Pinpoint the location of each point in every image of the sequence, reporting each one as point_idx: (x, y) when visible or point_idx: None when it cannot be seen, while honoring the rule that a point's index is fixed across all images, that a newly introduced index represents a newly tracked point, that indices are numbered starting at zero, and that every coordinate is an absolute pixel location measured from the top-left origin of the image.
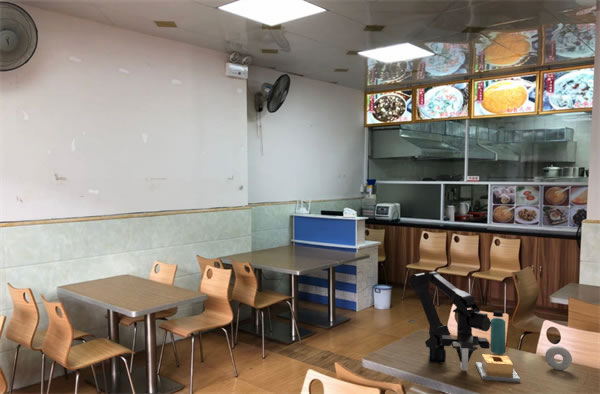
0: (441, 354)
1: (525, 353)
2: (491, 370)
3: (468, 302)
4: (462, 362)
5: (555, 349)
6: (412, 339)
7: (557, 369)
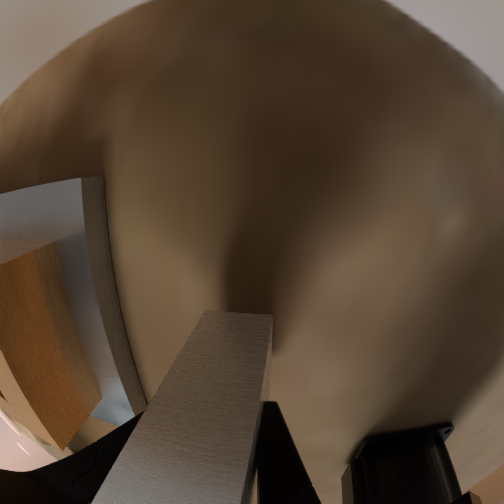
0: (389, 485)
1: (39, 443)
2: (11, 248)
3: None
4: (254, 373)
5: None
6: None
7: None
